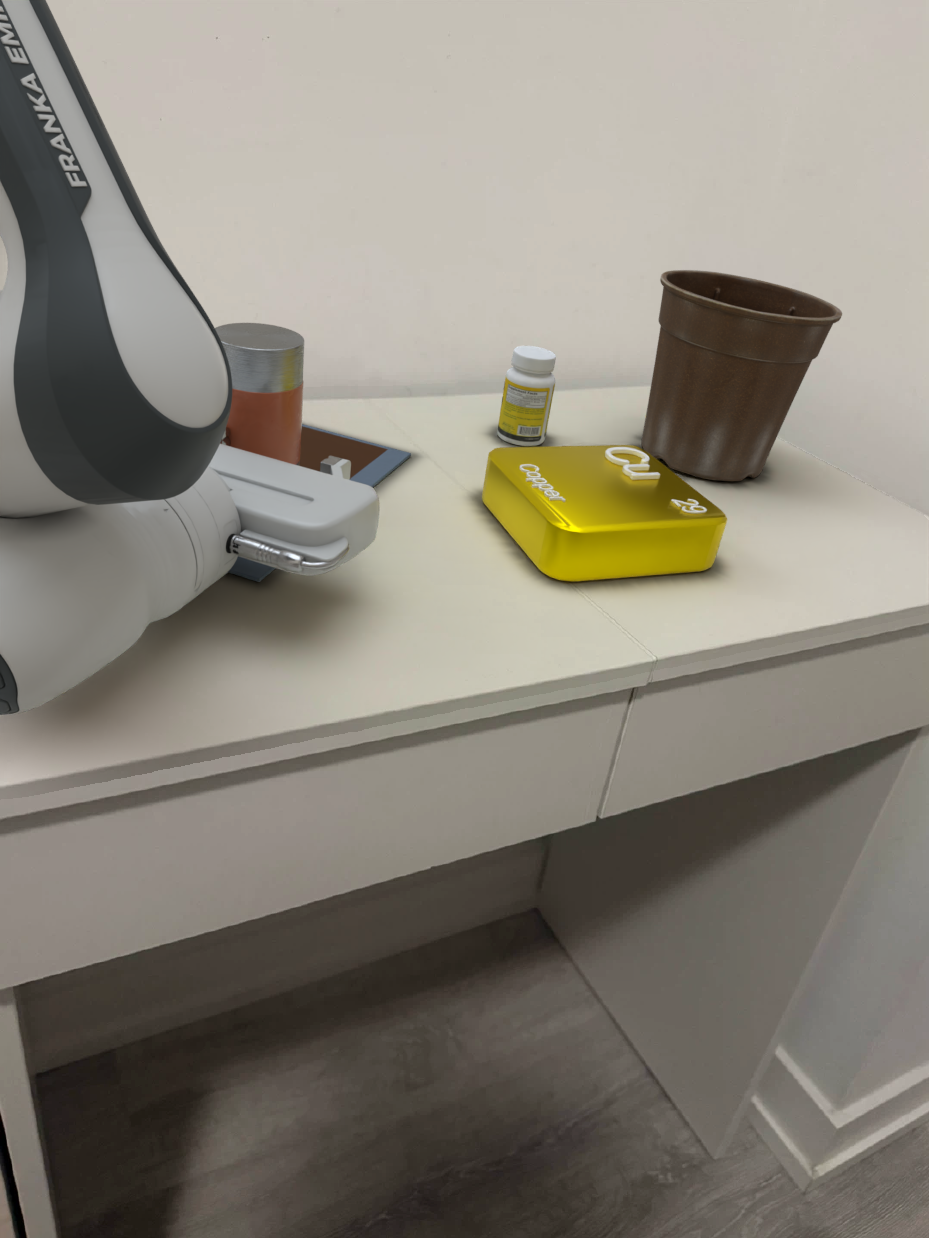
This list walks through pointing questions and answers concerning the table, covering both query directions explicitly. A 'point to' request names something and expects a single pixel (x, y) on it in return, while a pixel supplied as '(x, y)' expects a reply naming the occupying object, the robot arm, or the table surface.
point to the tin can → (265, 389)
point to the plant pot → (728, 370)
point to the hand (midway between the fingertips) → (280, 451)
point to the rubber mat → (315, 447)
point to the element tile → (601, 512)
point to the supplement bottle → (527, 396)
